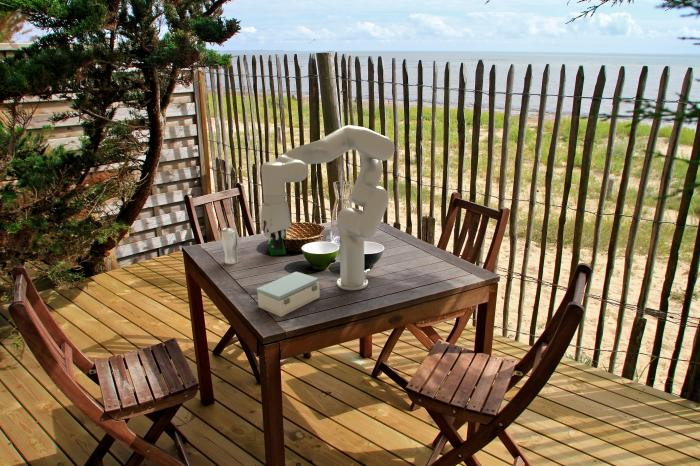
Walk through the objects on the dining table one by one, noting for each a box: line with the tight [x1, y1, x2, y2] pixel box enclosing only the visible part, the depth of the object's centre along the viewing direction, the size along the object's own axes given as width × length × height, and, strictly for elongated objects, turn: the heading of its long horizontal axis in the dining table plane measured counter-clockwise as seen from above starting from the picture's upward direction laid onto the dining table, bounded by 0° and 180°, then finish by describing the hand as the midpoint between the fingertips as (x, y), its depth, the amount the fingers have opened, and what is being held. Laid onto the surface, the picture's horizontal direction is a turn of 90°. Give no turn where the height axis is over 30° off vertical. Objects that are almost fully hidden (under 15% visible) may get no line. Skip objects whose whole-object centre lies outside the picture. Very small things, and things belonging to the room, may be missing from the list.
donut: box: [319, 227, 332, 241], centre depth 249 cm, size 10×4×10 cm, turn 91°
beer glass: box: [220, 227, 239, 265], centre depth 232 cm, size 7×7×15 cm
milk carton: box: [266, 231, 287, 256], centre depth 242 cm, size 9×9×20 cm
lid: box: [256, 271, 320, 300], centre depth 194 cm, size 20×12×1 cm, turn 140°
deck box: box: [256, 282, 321, 317], centre depth 195 cm, size 20×13×6 cm, turn 140°
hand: (278, 248), depth 184 cm, fingers closed
